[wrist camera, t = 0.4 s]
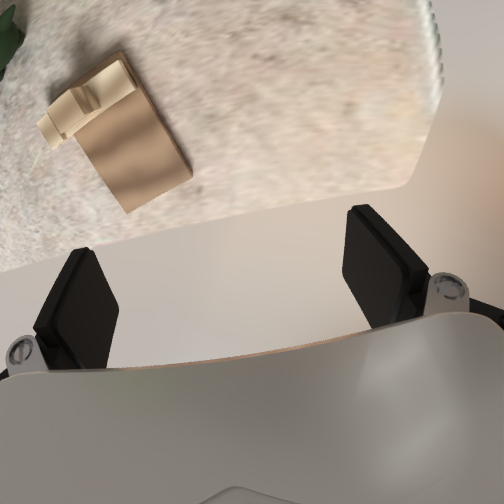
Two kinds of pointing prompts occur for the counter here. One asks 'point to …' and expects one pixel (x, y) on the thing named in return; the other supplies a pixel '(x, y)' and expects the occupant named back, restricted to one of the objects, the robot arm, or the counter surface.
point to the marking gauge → (85, 103)
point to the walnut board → (131, 145)
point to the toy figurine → (8, 38)
